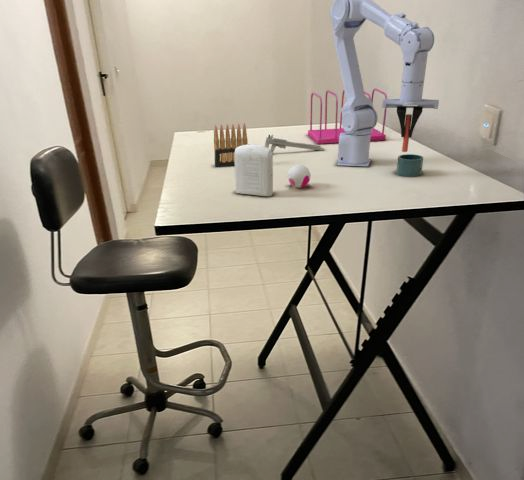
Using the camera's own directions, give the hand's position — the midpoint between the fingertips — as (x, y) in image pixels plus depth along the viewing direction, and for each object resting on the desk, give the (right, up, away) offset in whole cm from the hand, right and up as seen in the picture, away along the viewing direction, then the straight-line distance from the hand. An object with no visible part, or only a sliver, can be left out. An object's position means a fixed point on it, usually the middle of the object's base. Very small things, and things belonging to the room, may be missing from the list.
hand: (406, 136), depth 145 cm
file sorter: (-9, +20, +50) cm, 54 cm away
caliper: (-29, +8, +33) cm, 44 cm away
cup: (+3, -8, +7) cm, 11 cm away
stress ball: (-29, -15, -2) cm, 33 cm away
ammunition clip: (-49, -1, +20) cm, 53 cm away
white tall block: (-42, -18, -6) cm, 46 cm away
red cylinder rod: (0, -3, +2) cm, 4 cm away
